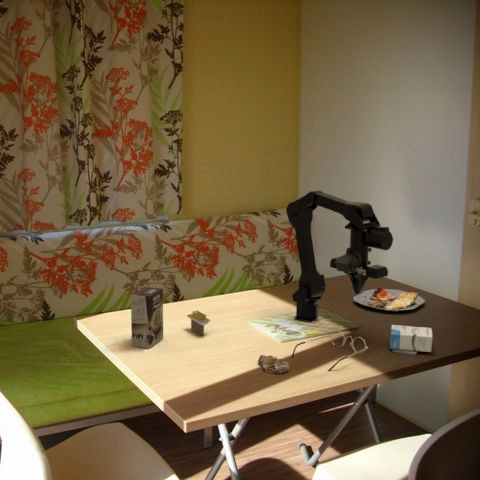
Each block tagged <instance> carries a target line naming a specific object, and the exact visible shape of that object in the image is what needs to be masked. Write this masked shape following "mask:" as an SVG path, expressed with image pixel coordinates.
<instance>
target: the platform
mask: <svg viewBox="0 0 480 480" xmlns="http://www.w3.org/2000/svg"><path fill="white" fill-rule="evenodd" d="M186 316H187V318H188V319H190V329H191V330H192V332H195V333H197V334H198V335H200V336H202V337H203V338H204V337H205V326H207V325H208V324H209V323H210V322H211V319H209V318H207V314H204V313H203V312H201V311H200V310H193V311H192V313H190V314H187V315H186Z"/></svg>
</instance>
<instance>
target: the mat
mask: <svg viewBox="0 0 480 480" xmlns="http://www.w3.org/2000/svg"><path fill="white" fill-rule="evenodd" d="M418 352H419V351H412V350H400V349H392V353H397V354H402V355H403V354H404V355H411V356H417V353H418Z"/></svg>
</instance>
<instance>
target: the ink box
mask: <svg viewBox="0 0 480 480" xmlns="http://www.w3.org/2000/svg"><path fill="white" fill-rule="evenodd" d="M433 337H434V336H433V329H432V327H421V326H409V325H398V324H391V328H390V343H389V344H390V345H389V346H390V347H389V348H390V349H391V350H393V349H400V350H412V351H418V352H423V353H424V352H426V353H432V347H433V346H432V345H433Z"/></svg>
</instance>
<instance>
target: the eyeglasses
mask: <svg viewBox="0 0 480 480" xmlns="http://www.w3.org/2000/svg"><path fill="white" fill-rule="evenodd" d="M335 332H339V333H340V334H341V335H342V336H343V340H342V344H341V345H339V347H344V346H345V344H346V342H347V338H350V339H351V342H350V343H349V346H350V347H351V348H352V350H353V351H354V353H351V354H350V355H348V356H347V355H346V356H344V357H343V358H340V359H339V360H338V361H337V362H335V364H333V365H332V366H331V367H330V368H329V369H328V370H327V372H330V371H332V370H333V369H334V368H335V367H336V365H337V364H339V362H342V361H343V360H345V359H348V358H349V357H352V356H354V355H357V354H359V355H360V354H363V353H365V352H366V350H369V347H368V346H367V343H366V340H365V339H364V338H363V337H360V336H358V337H357V336H356V337H355V338H352V336H351V335H350V336H349V335H348V336H345V335H344V333H343V332H342V331H341V330H334V331H333V332H332V333H331V334H327V335H323V336H320V337H317V338H314V339H311V340H307V341H302V342H299V343H297V344H296V345H295V347H294V349H293V352H292V355H291V359H293V358H294V356H295V351H296V349H297V347H298V346H300V345H304V344H306V343H309V342H313V341H317V340H320V339H324V338H330V341H331V343H332V345H334V346H336V344H335V343H334V342H333V338H332V336H333V334H334V333H335ZM357 338H359V339H361V340H362V341H363V343H364V348H363V349H361V350H359V351H357V350H356V349H355V347H354V343H355V340H356V339H357Z"/></svg>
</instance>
